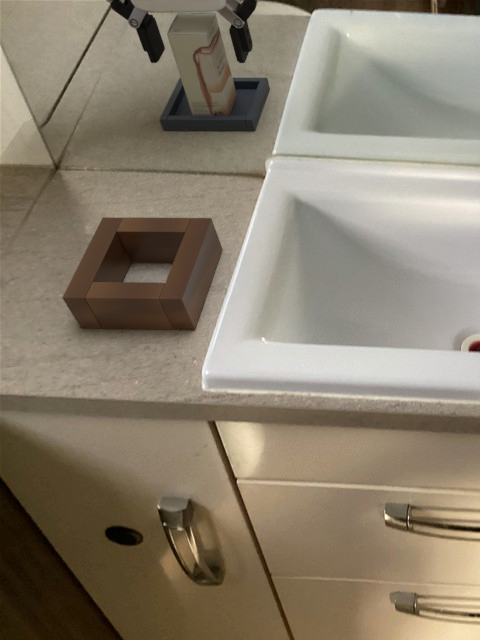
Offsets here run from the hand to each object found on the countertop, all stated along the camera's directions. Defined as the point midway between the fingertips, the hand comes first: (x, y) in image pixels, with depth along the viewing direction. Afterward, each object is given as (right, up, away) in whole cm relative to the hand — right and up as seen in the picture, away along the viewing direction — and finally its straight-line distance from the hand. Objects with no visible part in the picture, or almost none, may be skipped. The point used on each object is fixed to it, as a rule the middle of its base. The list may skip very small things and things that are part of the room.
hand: (201, 56), depth 88 cm
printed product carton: (0, -4, +5) cm, 6 cm away
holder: (0, -27, -13) cm, 30 cm away
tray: (0, -4, +5) cm, 7 cm away
